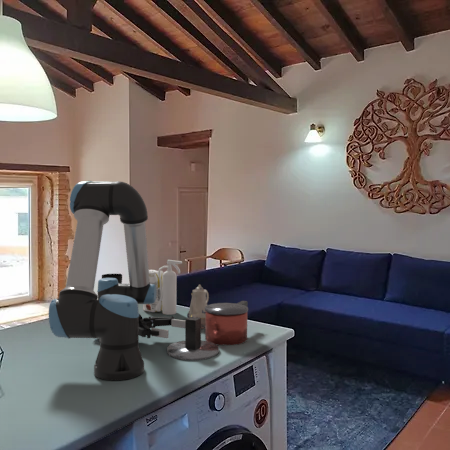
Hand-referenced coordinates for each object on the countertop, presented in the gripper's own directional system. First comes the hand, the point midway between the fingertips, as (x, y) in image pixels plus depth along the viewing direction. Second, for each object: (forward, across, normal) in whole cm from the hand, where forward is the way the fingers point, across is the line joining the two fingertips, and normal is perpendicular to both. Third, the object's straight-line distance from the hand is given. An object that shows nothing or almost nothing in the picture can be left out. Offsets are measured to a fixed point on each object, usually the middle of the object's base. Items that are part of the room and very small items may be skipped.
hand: (178, 329), depth 169 cm
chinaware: (-8, -36, -7) cm, 38 cm away
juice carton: (-39, -44, -7) cm, 59 cm away
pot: (+11, -23, -7) cm, 27 cm away
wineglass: (-44, -20, -7) cm, 49 cm away
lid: (+7, +1, -7) cm, 10 cm away
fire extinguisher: (-30, -43, -7) cm, 53 cm away
